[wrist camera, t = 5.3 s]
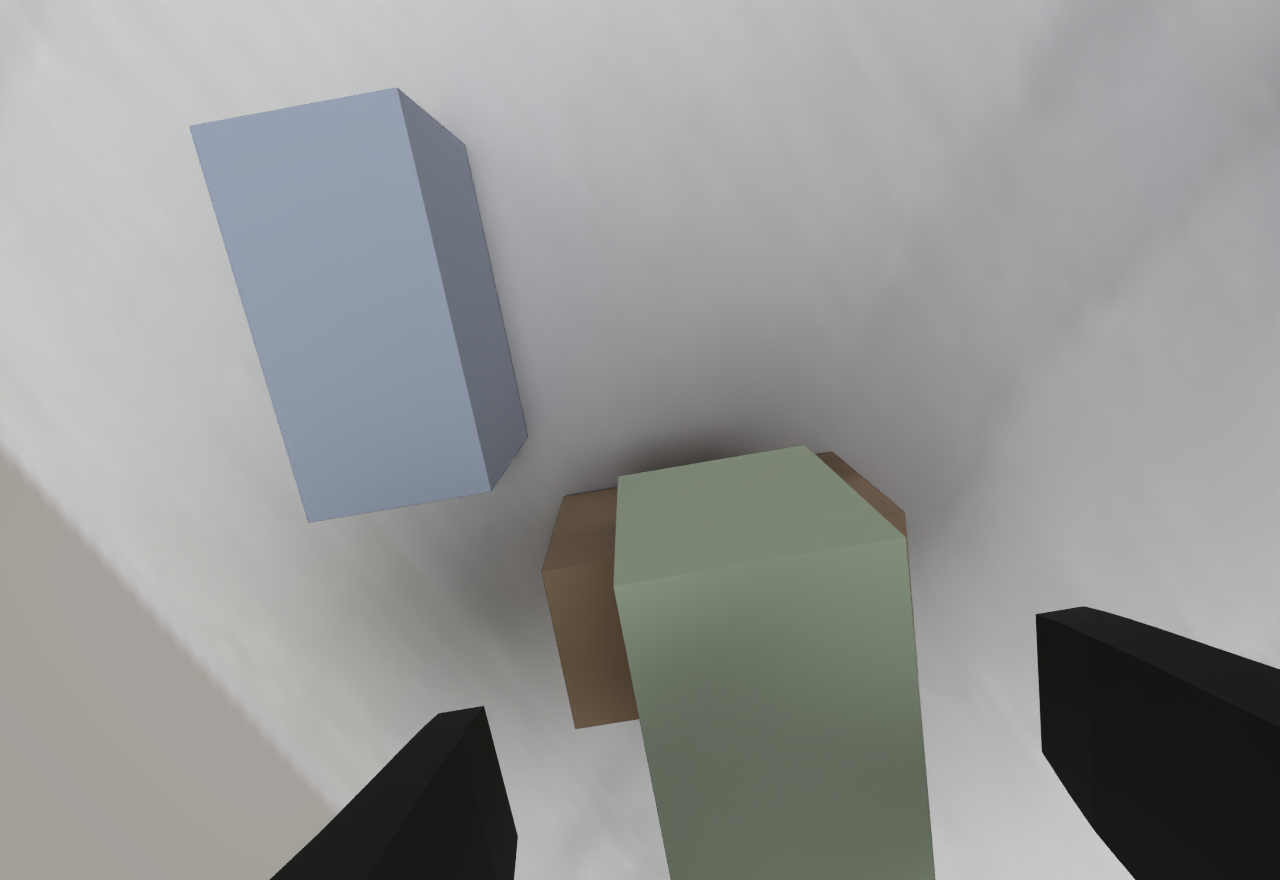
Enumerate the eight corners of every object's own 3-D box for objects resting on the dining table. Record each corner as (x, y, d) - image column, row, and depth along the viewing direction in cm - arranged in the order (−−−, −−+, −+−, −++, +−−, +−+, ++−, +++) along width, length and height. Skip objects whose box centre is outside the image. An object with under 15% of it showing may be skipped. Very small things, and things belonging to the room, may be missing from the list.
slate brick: (316, 171, 13) (188, 126, 10) (464, 143, 13) (397, 87, 10) (392, 459, 15) (308, 522, 11) (527, 436, 15) (491, 491, 11)
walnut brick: (832, 452, 15) (904, 512, 11) (845, 576, 16) (917, 674, 12) (564, 496, 15) (541, 571, 11) (588, 618, 16) (575, 729, 12)
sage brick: (843, 766, 12) (945, 997, 8) (676, 793, 12) (700, 1034, 8) (804, 445, 11) (906, 537, 7) (618, 476, 11) (613, 585, 7)
